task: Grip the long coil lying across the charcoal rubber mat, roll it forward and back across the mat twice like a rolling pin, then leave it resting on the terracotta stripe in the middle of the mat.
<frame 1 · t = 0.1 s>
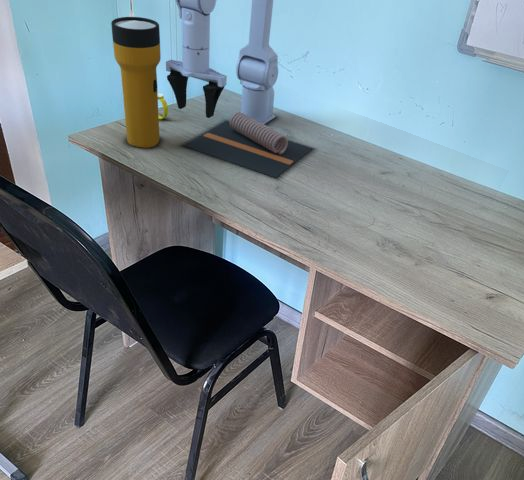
hand: (195, 112, 121), 10 cm above the table, tool pointing down, fingers open, 7 cm apart
coil: (257, 142, 136), resting on mat
flashlight: (143, 141, 131), on the table
mat: (249, 147, 134), on the table
watch: (158, 118, 142), on the table
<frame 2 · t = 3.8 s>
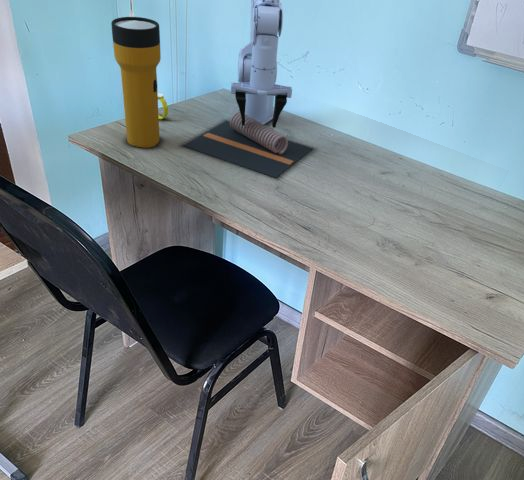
hand: (258, 124, 133), 4 cm above the table, tool pointing down, fingers open, 7 cm apart
nothing on the table moved.
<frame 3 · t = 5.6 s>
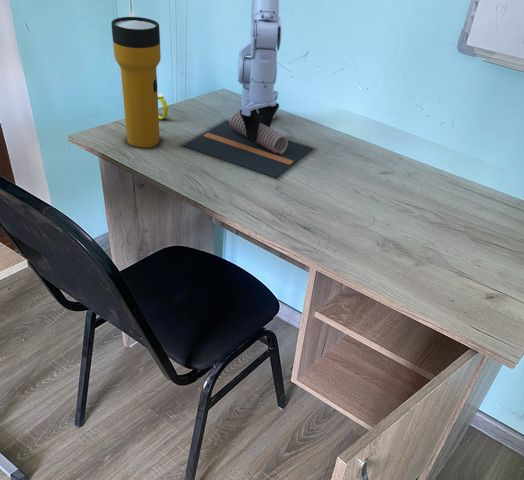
hand: (257, 136, 135), 2 cm above the table, tool pointing down, fingers closed on coil, 6 cm apart
coil: (257, 142, 136), resting on mat, touching gripper
everything else where it was.
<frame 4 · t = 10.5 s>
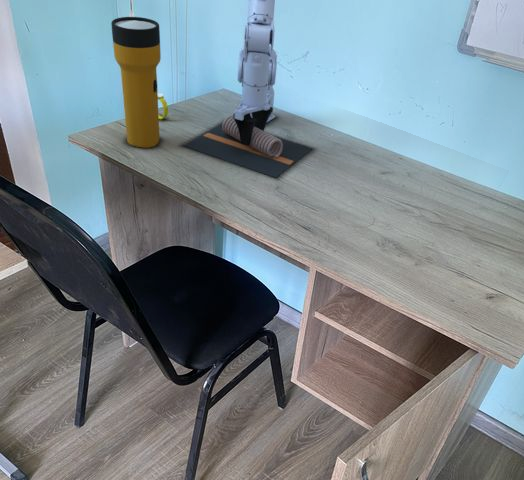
hand: (251, 140, 133), 2 cm above the table, tool pointing down, fingers closed on coil, 5 cm apart
coil: (250, 146, 134), resting on mat, touching gripper
everything else where it was.
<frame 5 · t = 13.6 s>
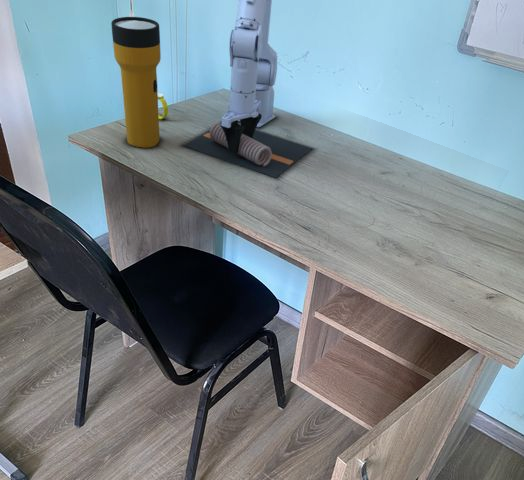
hand: (239, 147, 129), 2 cm above the table, tool pointing down, fingers closed on coil, 5 cm apart
coil: (239, 153, 131), resting on mat, touching gripper
everything else where it was.
when the fingers open (2 cm above the table, at t = 15.9 s): coil stays where it is, resting on mat.
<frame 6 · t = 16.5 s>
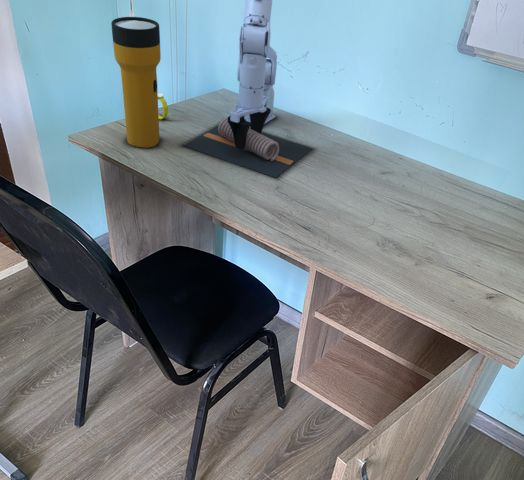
hand: (247, 142, 132), 2 cm above the table, tool pointing down, fingers open, 7 cm apart
coil: (247, 148, 133), resting on mat
everything else where it was.
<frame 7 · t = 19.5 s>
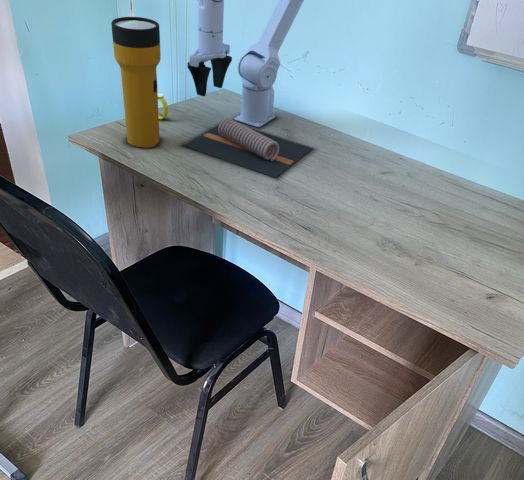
hand: (209, 91, 133), 9 cm above the table, tool pointing down, fingers open, 7 cm apart
nothing on the table moved.
at the end: coil 0.0 cm from the target spot, resting on mat; coil touching mat; the gripper is holding nothing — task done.
